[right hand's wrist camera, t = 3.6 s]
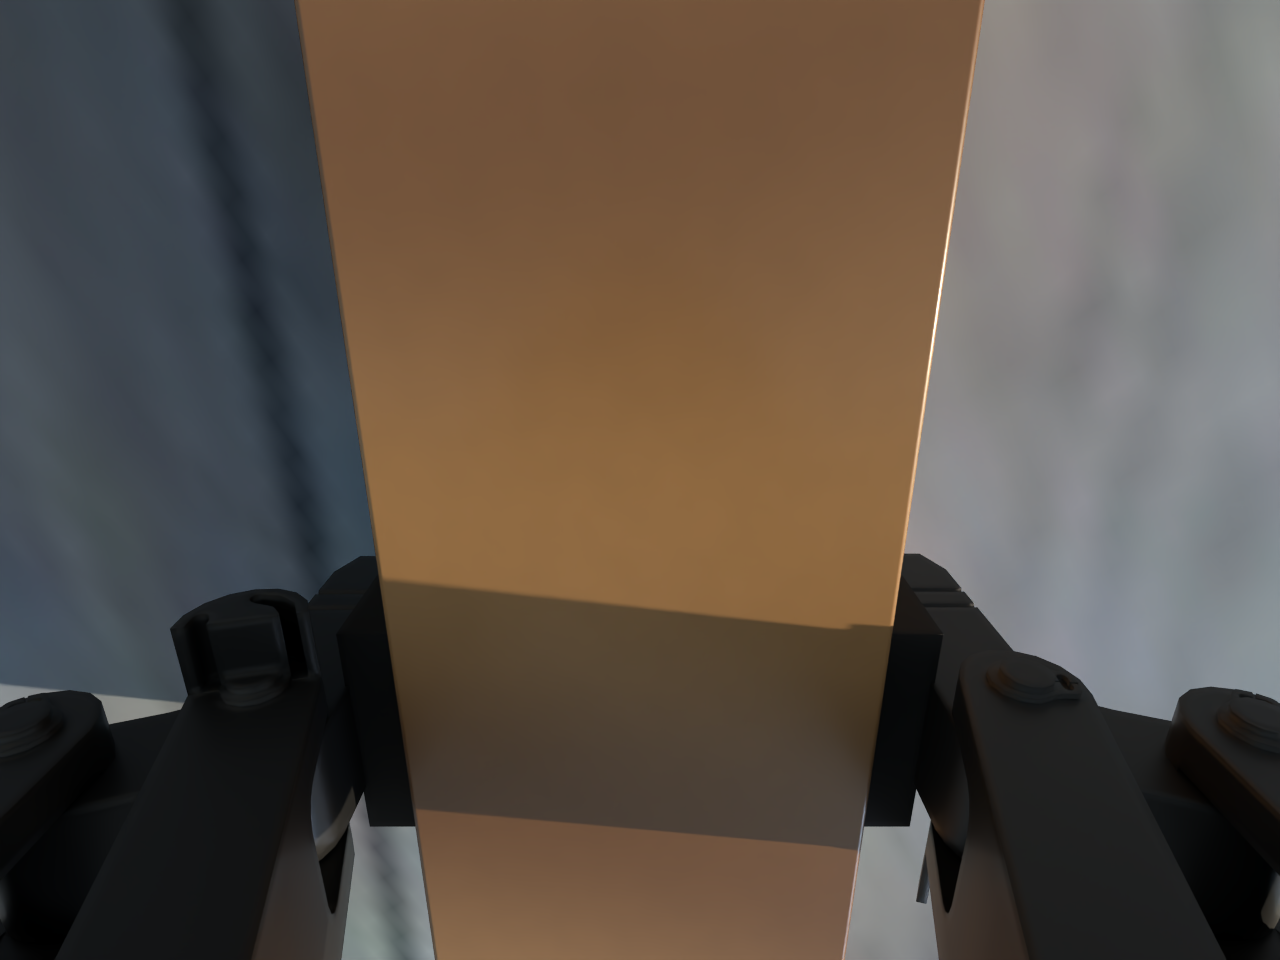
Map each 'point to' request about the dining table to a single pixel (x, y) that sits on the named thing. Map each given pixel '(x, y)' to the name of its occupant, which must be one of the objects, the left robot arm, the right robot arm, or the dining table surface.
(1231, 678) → the dining table surface
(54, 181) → the dining table surface
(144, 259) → the dining table surface
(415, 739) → the beam
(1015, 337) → the dining table surface
